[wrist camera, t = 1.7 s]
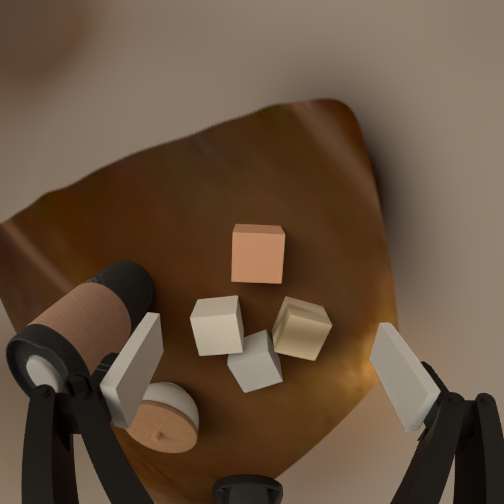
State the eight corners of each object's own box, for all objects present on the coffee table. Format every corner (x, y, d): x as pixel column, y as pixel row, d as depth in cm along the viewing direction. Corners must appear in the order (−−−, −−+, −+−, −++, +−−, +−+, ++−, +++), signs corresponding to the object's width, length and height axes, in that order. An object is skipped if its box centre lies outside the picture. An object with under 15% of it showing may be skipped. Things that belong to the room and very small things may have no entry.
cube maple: (307, 339, 36) (314, 360, 32) (271, 330, 36) (274, 351, 31) (322, 306, 35) (332, 325, 30) (285, 295, 35) (290, 314, 30)
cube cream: (243, 330, 36) (242, 352, 31) (205, 334, 36) (199, 355, 31) (238, 295, 35) (235, 313, 30) (197, 299, 35) (189, 318, 30)
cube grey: (279, 358, 37) (282, 381, 32) (245, 369, 38) (244, 392, 33) (266, 329, 36) (267, 351, 31) (230, 341, 37) (227, 364, 32)
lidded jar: (152, 357, 37) (131, 400, 28) (217, 393, 39) (210, 440, 30) (128, 396, 40) (109, 436, 31) (185, 427, 41) (175, 469, 32)
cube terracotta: (277, 268, 34) (281, 283, 29) (234, 266, 34) (231, 281, 29) (280, 225, 33) (285, 234, 28) (235, 223, 33) (232, 232, 28)
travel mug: (107, 310, 36) (23, 402, 16) (100, 256, 34) (-7, 327, 14) (158, 317, 36) (92, 429, 16) (154, 260, 34) (63, 349, 14)
